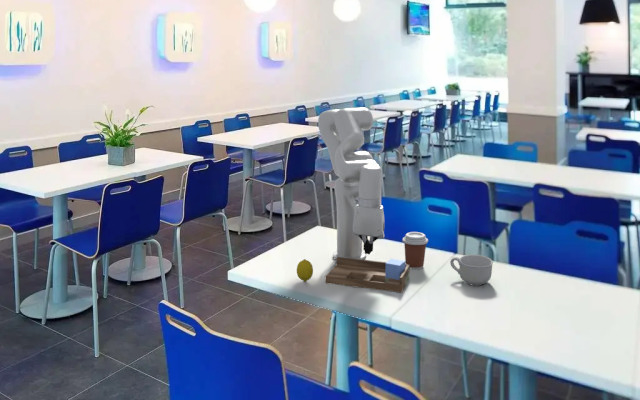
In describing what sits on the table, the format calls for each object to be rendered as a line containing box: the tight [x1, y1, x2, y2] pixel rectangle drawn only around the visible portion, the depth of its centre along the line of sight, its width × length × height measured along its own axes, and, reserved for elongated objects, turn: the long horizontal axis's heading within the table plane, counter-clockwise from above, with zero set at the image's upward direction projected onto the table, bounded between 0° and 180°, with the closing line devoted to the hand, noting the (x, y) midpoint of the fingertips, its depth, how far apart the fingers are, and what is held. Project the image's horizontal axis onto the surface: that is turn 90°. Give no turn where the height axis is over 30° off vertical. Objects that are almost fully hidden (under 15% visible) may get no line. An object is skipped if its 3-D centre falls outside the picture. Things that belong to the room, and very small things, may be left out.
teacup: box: [449, 254, 494, 286], centre depth 190 cm, size 14×11×8 cm
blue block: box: [385, 258, 406, 280], centre depth 188 cm, size 5×5×5 cm
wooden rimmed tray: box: [324, 257, 411, 293], centre depth 191 cm, size 13×26×5 cm, turn 70°
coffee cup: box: [402, 231, 429, 270], centre depth 204 cm, size 9×9×12 cm
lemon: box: [296, 259, 314, 283], centre depth 191 cm, size 6×6×8 cm
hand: (368, 252), depth 194 cm, fingers closed
